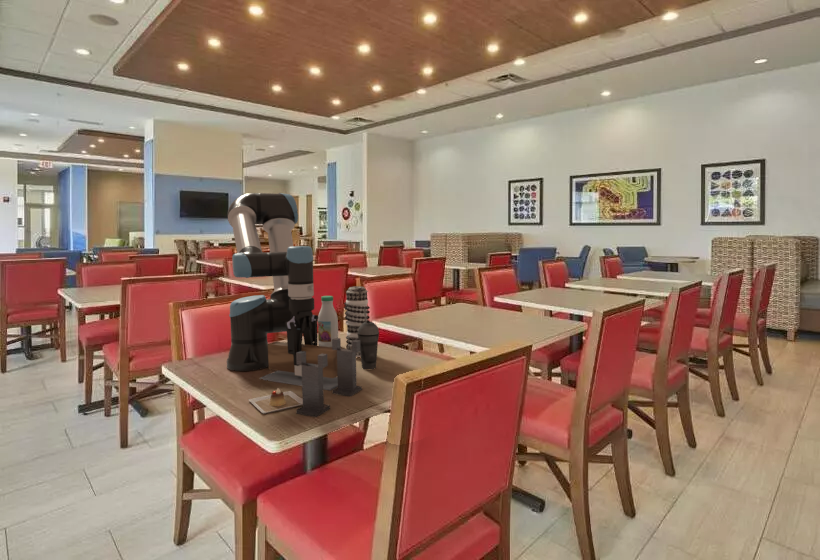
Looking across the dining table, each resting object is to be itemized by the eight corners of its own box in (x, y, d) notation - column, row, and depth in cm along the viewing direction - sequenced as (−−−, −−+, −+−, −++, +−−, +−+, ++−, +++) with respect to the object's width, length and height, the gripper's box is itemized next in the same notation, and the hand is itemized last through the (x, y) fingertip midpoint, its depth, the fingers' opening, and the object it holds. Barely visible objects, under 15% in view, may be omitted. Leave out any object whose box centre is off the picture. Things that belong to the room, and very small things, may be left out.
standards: (293, 412, 121) (291, 354, 120) (341, 386, 141) (339, 336, 140) (319, 417, 118) (317, 358, 116) (364, 390, 138) (363, 338, 136)
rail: (333, 378, 141) (332, 351, 140) (268, 369, 151) (267, 344, 150) (340, 374, 144) (340, 348, 144) (277, 365, 154) (276, 341, 154)
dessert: (248, 403, 130) (247, 386, 129) (290, 394, 137) (290, 377, 136) (262, 417, 120) (261, 398, 120) (307, 406, 127) (307, 389, 126)
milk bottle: (331, 343, 195) (330, 294, 193) (342, 346, 189) (341, 296, 187) (314, 346, 190) (313, 296, 188) (325, 350, 184) (324, 298, 182)
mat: (259, 379, 149) (259, 377, 149) (281, 370, 158) (281, 369, 158) (330, 390, 138) (330, 388, 138) (349, 380, 147) (349, 378, 147)
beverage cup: (376, 371, 156) (375, 310, 154) (355, 370, 157) (353, 309, 155) (382, 365, 163) (381, 306, 161) (361, 364, 164) (360, 306, 162)
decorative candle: (341, 353, 179) (340, 286, 176) (365, 350, 183) (364, 285, 180) (350, 359, 171) (348, 289, 168) (374, 356, 175) (373, 287, 172)
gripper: (293, 302, 136) (296, 382, 138) (328, 294, 151) (330, 367, 154) (272, 300, 139) (275, 379, 142) (308, 293, 155) (310, 364, 157)
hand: (304, 373), depth 148 cm, fingers closed on rail, 4 cm apart
